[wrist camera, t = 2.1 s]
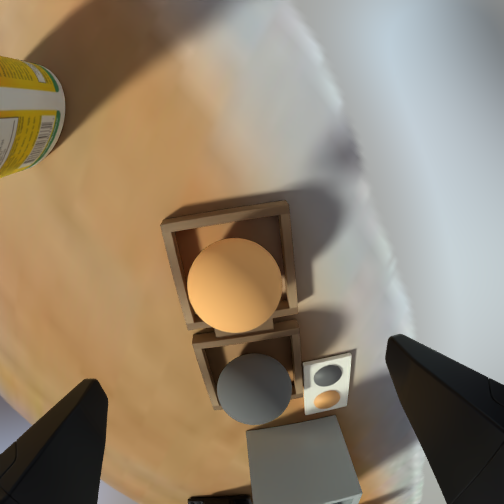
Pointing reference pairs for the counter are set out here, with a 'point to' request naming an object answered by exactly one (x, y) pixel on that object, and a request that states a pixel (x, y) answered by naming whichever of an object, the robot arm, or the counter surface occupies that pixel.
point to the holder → (261, 332)
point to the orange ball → (234, 285)
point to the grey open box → (302, 464)
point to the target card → (326, 383)
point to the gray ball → (254, 389)
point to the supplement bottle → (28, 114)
